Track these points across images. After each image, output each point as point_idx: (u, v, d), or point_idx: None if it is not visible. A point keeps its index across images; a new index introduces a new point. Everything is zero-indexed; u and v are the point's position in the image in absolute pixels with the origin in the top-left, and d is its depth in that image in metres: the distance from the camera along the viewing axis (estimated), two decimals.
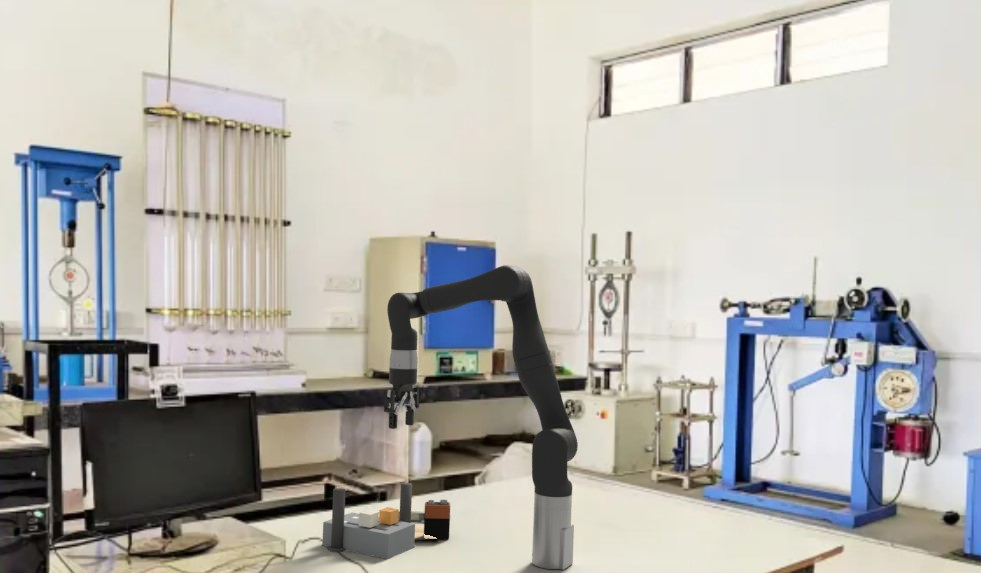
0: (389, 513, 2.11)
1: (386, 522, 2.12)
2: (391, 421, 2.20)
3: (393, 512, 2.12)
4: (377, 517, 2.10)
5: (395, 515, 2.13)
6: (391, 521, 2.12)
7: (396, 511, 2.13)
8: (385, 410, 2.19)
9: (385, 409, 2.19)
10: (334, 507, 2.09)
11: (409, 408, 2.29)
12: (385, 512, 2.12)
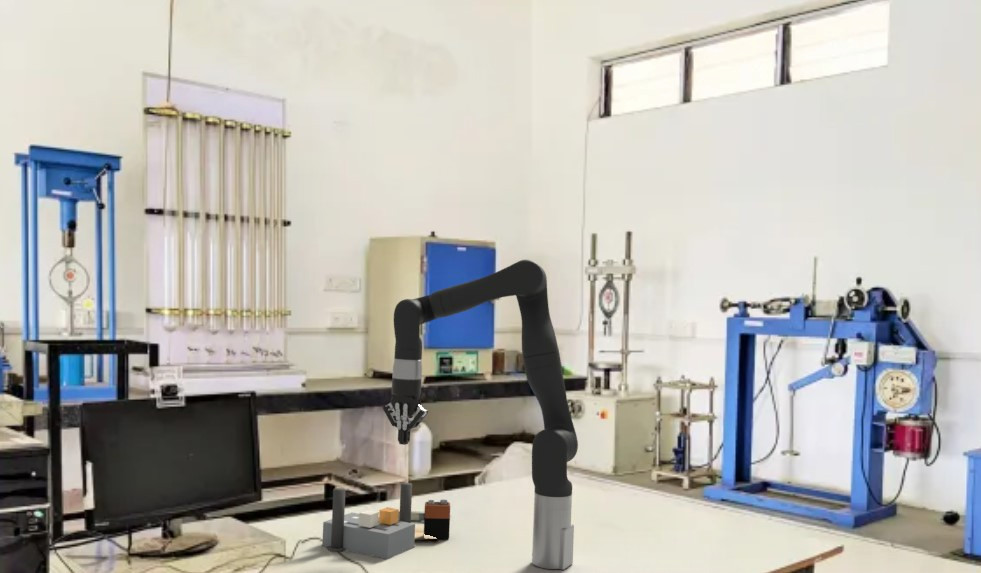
0: (389, 513, 2.11)
1: (386, 522, 2.12)
2: (408, 436, 2.14)
3: (393, 512, 2.12)
4: (377, 517, 2.10)
5: (395, 515, 2.13)
6: (391, 521, 2.12)
7: (396, 511, 2.13)
8: (412, 427, 2.13)
9: (413, 427, 2.13)
10: (334, 507, 2.09)
11: (402, 424, 2.15)
12: (385, 512, 2.12)
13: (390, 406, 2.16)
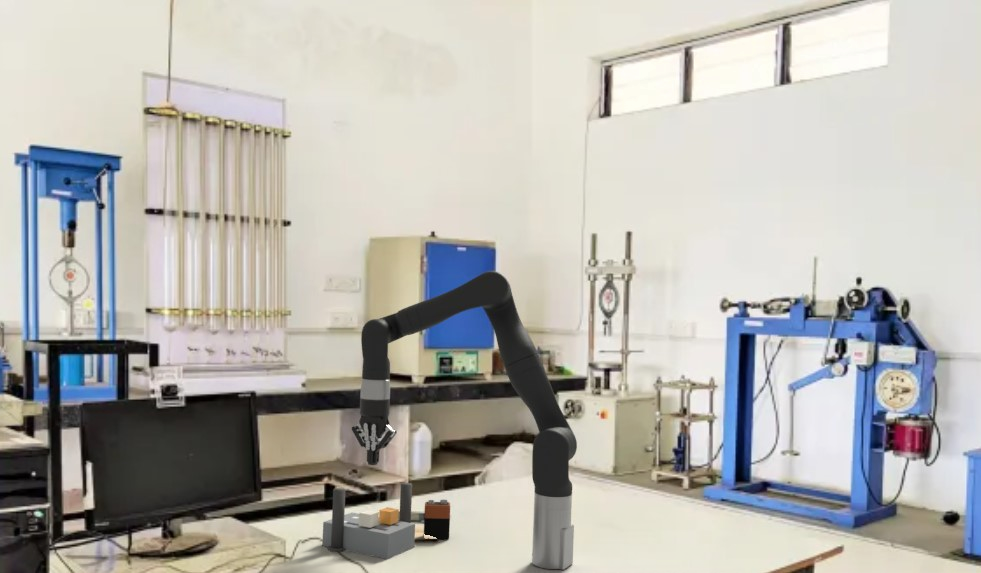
0: (389, 513, 2.11)
1: (386, 522, 2.12)
2: (377, 457, 2.13)
3: (393, 512, 2.12)
4: (377, 517, 2.10)
5: (395, 515, 2.13)
6: (391, 521, 2.12)
7: (396, 511, 2.13)
8: (381, 448, 2.12)
9: (381, 447, 2.12)
10: (334, 507, 2.09)
11: (371, 445, 2.14)
12: (385, 512, 2.12)
13: (359, 426, 2.16)
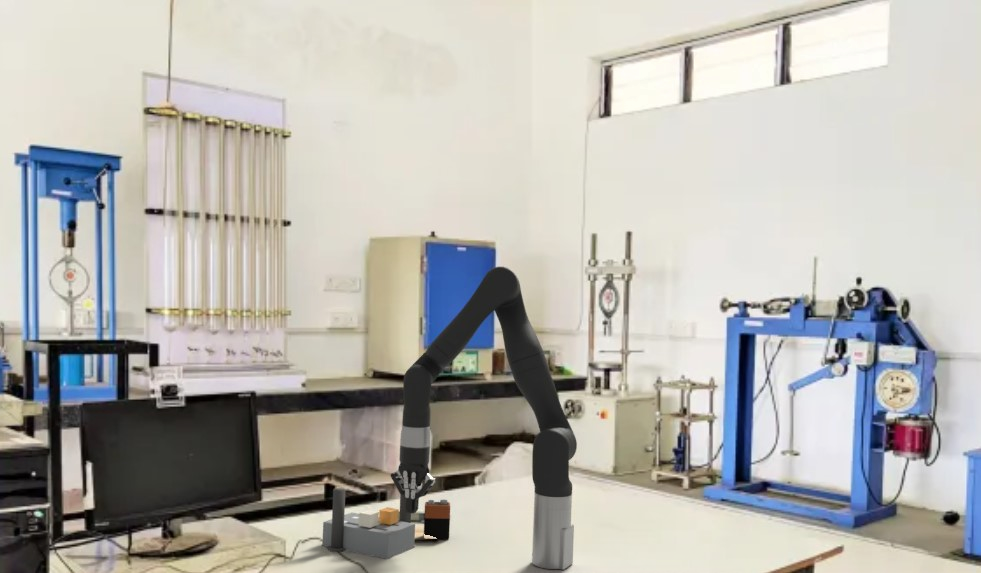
0: (389, 513, 2.11)
1: (386, 522, 2.12)
2: (417, 505, 2.10)
3: (393, 512, 2.12)
4: (377, 517, 2.10)
5: (395, 515, 2.13)
6: (391, 521, 2.12)
7: (396, 511, 2.13)
8: (421, 496, 2.09)
9: (421, 495, 2.08)
10: (334, 507, 2.09)
11: (410, 493, 2.11)
12: (385, 512, 2.12)
13: (398, 473, 2.12)
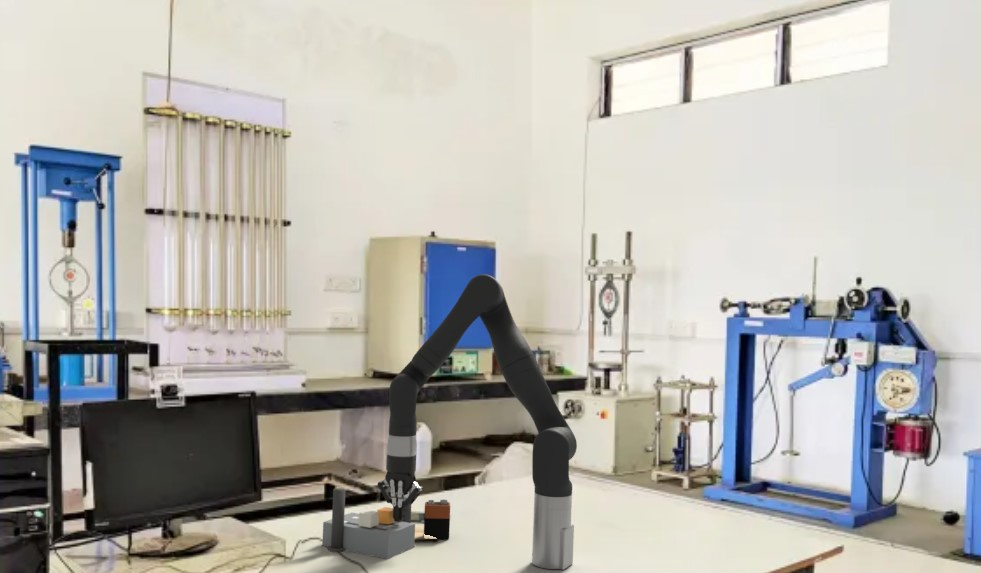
0: (387, 513, 2.12)
1: (384, 522, 2.12)
2: (404, 514, 2.11)
3: (391, 512, 2.12)
4: (377, 517, 2.10)
5: None
6: (389, 520, 2.12)
7: None
8: None
9: (408, 504, 2.10)
10: (334, 507, 2.09)
11: (397, 501, 2.12)
12: (383, 512, 2.12)
13: (385, 482, 2.14)
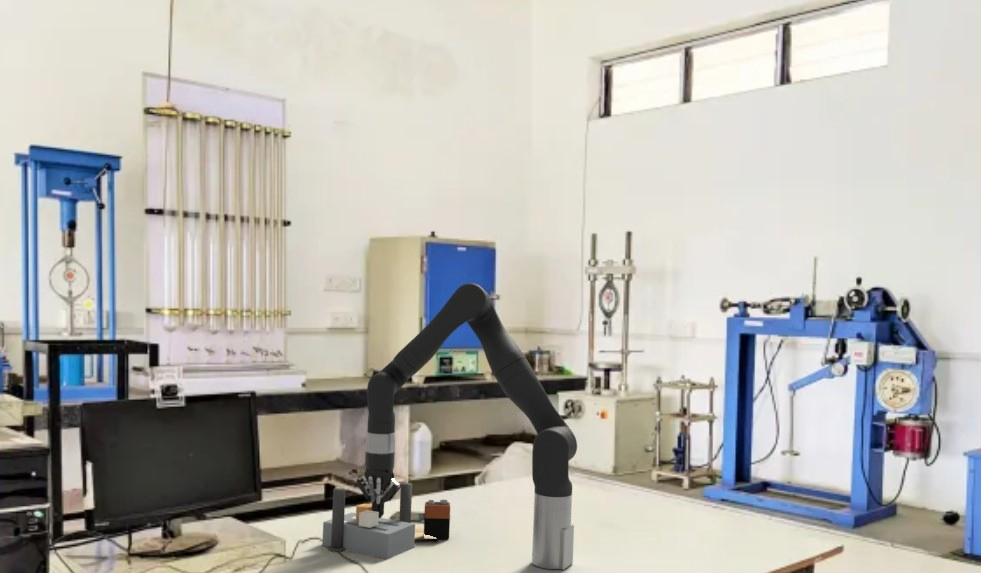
0: (366, 509, 2.15)
1: None
2: (382, 510, 2.14)
3: (370, 508, 2.15)
4: (377, 517, 2.10)
5: None
6: None
7: None
8: (386, 501, 2.13)
9: (386, 500, 2.13)
10: (334, 507, 2.09)
11: (376, 498, 2.15)
12: (362, 508, 2.15)
13: (364, 479, 2.17)
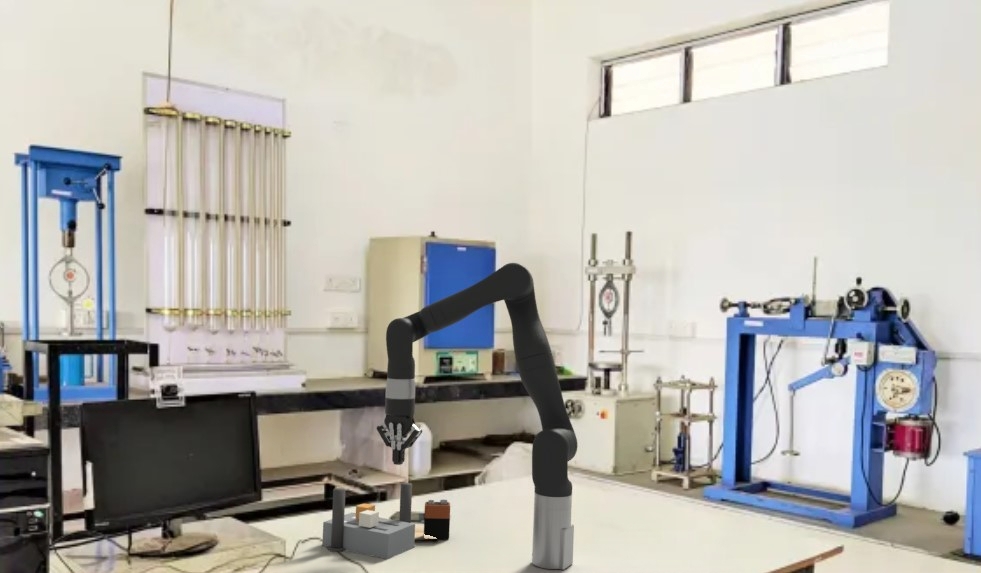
0: (365, 509, 2.15)
1: None
2: (403, 456, 2.13)
3: (369, 508, 2.15)
4: (377, 517, 2.10)
5: None
6: None
7: (372, 507, 2.17)
8: (407, 447, 2.11)
9: (407, 446, 2.11)
10: (334, 507, 2.09)
11: (397, 444, 2.13)
12: (361, 508, 2.15)
13: (384, 426, 2.15)
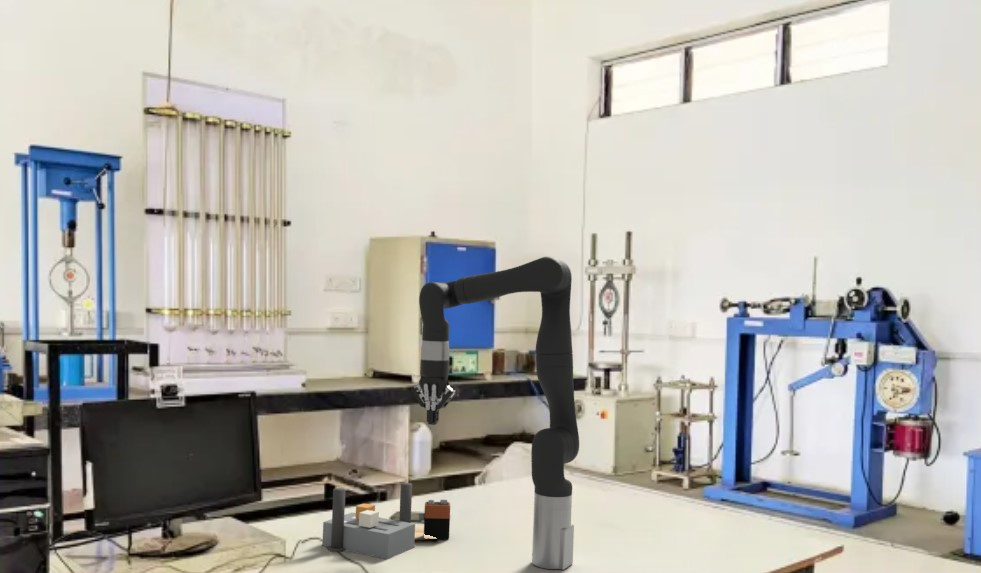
0: (365, 509, 2.15)
1: None
2: (437, 417, 2.19)
3: (369, 508, 2.15)
4: (377, 517, 2.10)
5: None
6: None
7: (372, 507, 2.17)
8: (441, 407, 2.17)
9: (442, 407, 2.17)
10: (334, 507, 2.09)
11: (431, 405, 2.19)
12: (361, 508, 2.15)
13: (418, 387, 2.21)
